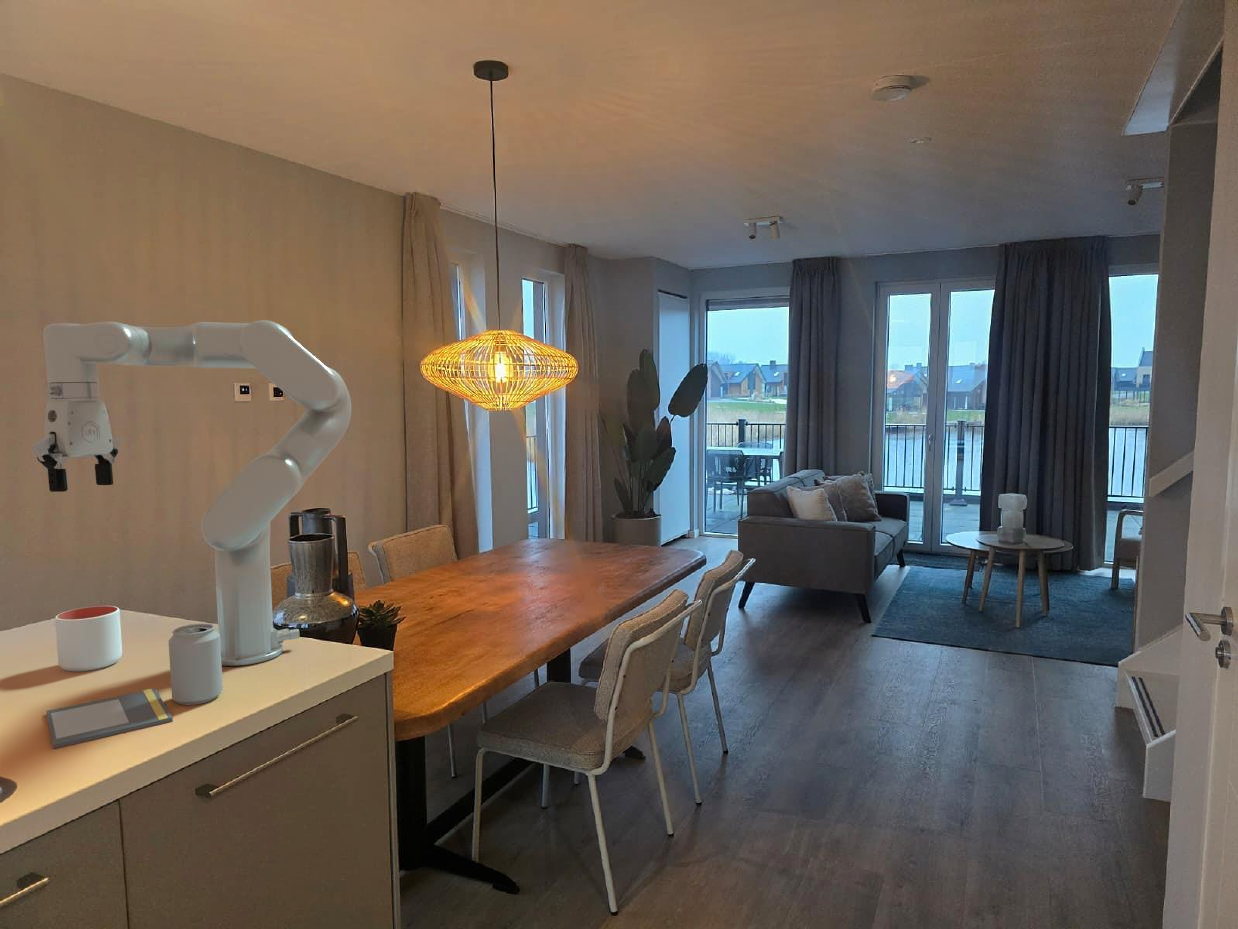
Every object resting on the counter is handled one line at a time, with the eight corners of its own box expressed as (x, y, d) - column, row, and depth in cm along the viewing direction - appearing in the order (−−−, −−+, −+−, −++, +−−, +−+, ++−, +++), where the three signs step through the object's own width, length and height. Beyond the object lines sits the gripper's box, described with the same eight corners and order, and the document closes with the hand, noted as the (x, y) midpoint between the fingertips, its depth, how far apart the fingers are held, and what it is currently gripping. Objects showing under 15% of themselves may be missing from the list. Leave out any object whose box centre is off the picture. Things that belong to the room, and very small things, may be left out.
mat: (155, 691, 134) (155, 687, 134) (172, 721, 122) (172, 716, 121) (46, 714, 125) (46, 710, 125) (53, 748, 112) (52, 744, 112)
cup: (49, 676, 142) (45, 622, 141) (70, 659, 152) (67, 608, 151) (112, 670, 145) (109, 617, 144) (129, 654, 154) (126, 603, 154)
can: (232, 695, 132) (228, 625, 131) (189, 710, 126) (184, 637, 125) (206, 687, 136) (202, 619, 135) (162, 701, 130) (158, 630, 129)
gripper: (48, 393, 132) (57, 494, 134) (130, 392, 149) (138, 482, 151) (11, 394, 134) (20, 494, 135) (97, 393, 151) (104, 482, 152)
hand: (82, 488), depth 143 cm, fingers open, 9 cm apart
